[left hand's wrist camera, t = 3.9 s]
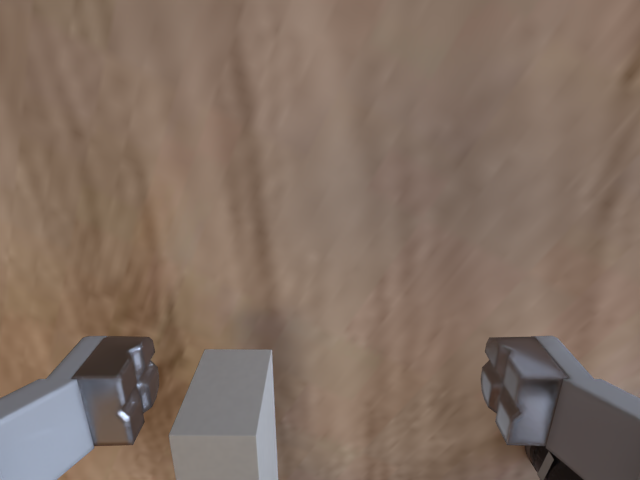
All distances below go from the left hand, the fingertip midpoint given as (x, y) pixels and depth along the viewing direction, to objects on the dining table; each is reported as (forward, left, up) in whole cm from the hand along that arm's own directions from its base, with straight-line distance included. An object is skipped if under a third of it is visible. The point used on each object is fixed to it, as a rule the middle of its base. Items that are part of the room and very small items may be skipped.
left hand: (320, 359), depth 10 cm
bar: (+13, +24, -21) cm, 35 cm away
